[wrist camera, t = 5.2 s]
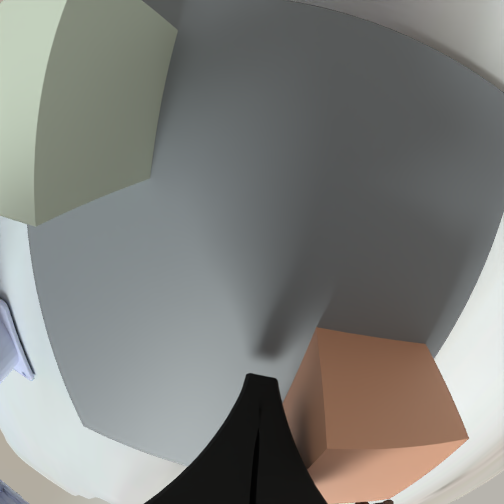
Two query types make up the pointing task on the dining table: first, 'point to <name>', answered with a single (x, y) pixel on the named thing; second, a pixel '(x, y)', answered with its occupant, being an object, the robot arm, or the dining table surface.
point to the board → (271, 217)
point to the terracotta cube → (370, 415)
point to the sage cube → (77, 101)
